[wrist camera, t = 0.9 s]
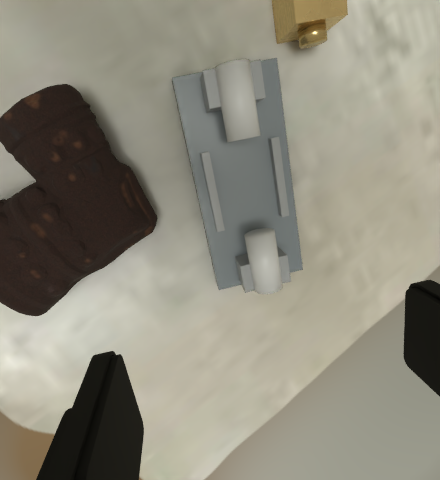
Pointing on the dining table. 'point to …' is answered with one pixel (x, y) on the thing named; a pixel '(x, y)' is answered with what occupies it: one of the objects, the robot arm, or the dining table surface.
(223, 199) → the grey fixture base
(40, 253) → the dark brown l-shaped piece
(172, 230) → the dining table surface
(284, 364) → the dining table surface
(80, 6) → the dining table surface
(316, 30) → the coupler
